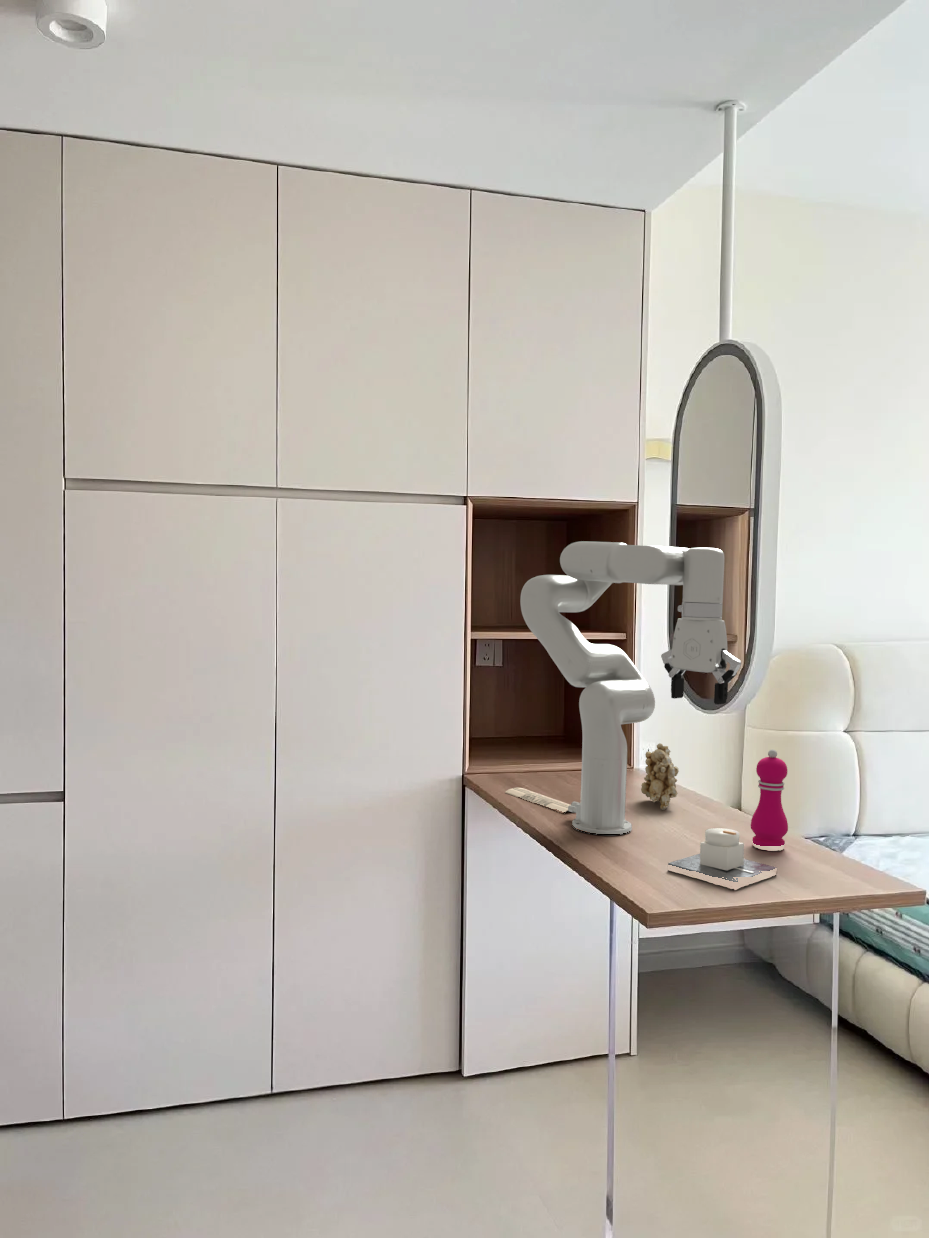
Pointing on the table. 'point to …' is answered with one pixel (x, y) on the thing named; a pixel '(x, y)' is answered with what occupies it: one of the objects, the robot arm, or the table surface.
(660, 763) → the mineral formation
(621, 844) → the table surface
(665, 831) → the table surface
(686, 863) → the grey thin square slab
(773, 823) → the pepper mill
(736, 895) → the table surface
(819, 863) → the table surface
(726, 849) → the knob
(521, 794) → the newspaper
